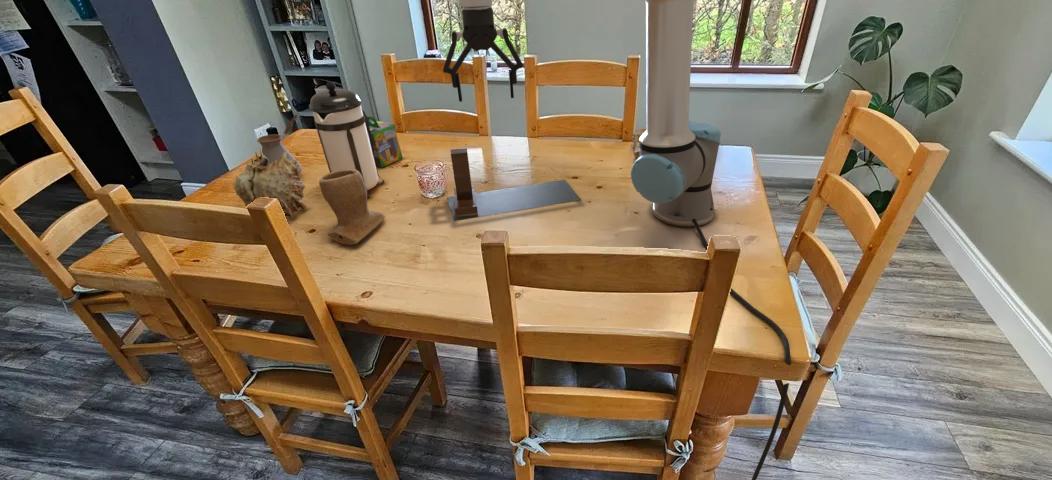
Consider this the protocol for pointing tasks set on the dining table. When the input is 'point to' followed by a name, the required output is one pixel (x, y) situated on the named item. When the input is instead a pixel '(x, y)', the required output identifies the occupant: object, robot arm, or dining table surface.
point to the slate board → (519, 198)
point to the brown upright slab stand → (463, 184)
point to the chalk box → (384, 142)
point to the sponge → (637, 141)
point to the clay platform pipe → (349, 206)
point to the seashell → (272, 182)
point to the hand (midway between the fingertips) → (486, 98)
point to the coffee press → (345, 133)
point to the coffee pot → (276, 145)
